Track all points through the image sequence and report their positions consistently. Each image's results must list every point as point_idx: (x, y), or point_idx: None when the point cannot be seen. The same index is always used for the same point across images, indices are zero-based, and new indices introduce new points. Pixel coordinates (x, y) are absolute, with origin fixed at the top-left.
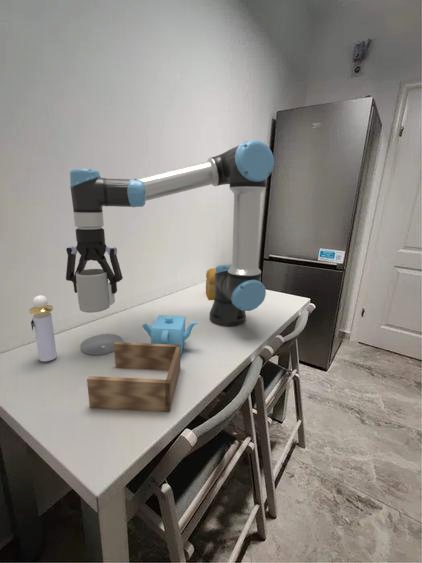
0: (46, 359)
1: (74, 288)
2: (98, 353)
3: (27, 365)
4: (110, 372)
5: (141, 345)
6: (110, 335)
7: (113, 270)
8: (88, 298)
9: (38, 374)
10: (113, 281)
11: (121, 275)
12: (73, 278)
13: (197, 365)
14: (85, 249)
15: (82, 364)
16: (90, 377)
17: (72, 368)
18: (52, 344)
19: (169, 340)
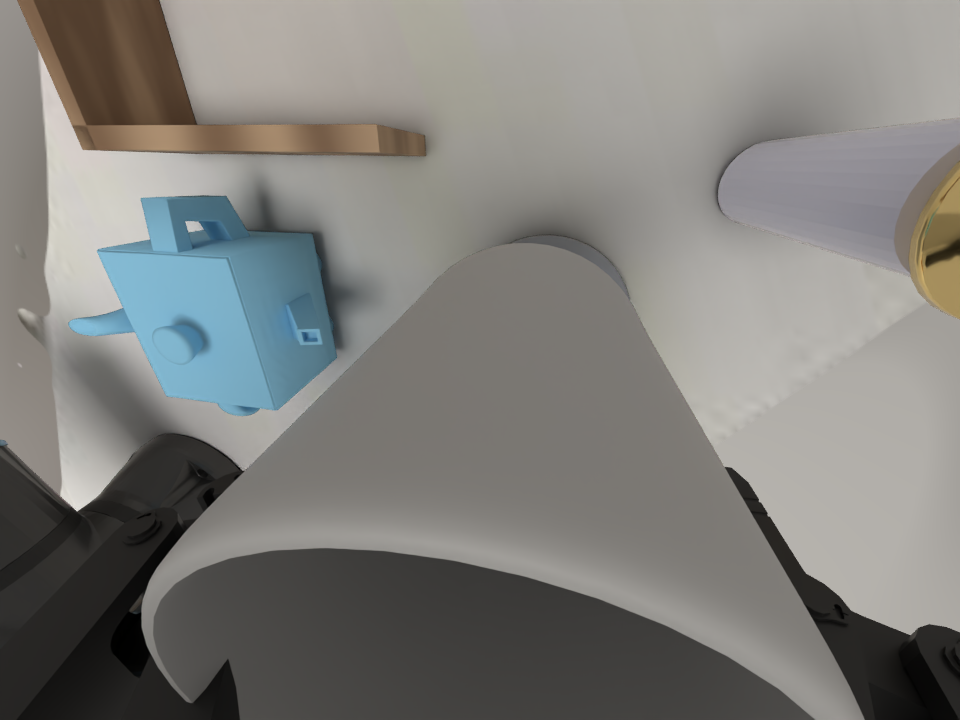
0: (762, 143)
1: (758, 507)
2: (529, 237)
3: (856, 115)
4: (430, 92)
5: (239, 125)
6: None
7: (17, 715)
8: (506, 277)
9: (770, 28)
10: (204, 509)
11: (129, 619)
12: (852, 657)
13: (152, 180)
14: None
15: (574, 151)
16: None
17: (610, 109)
18: (761, 174)
19: (196, 240)
